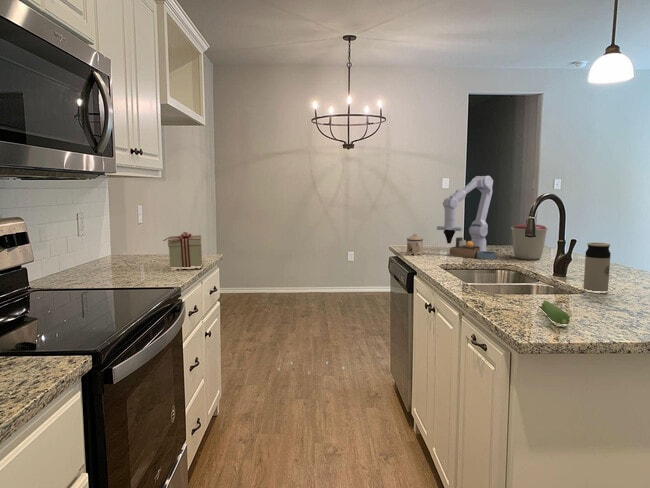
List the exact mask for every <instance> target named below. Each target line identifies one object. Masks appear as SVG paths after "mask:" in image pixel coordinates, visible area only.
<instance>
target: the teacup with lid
mask: <svg viewBox="0 0 650 488" xmlns="http://www.w3.org/2000/svg"><path fill="white" fill-rule="evenodd" d="M423 241H424V238H422V237H420V236H419V235H418V234H417V233H413V234H412V235H411V236H409V237H407V238H406V254H407V255H408V254H415V255H414V256H418V255H417V254H422V255H423Z"/></svg>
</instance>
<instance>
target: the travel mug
mask: <svg viewBox="0 0 650 488" xmlns="http://www.w3.org/2000/svg"><path fill="white" fill-rule="evenodd" d="M586 245H587V249H586V251H585V256H584V258H585V260H584V275H583V276H584V277H583V288H584V289H587V290H592V291H608V292H609V284H610V283H609V281H610V269H611V267H610V265H611V254H612V253H611V251H610V247H611V244H610V243H606V242H587V243H586Z"/></svg>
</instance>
